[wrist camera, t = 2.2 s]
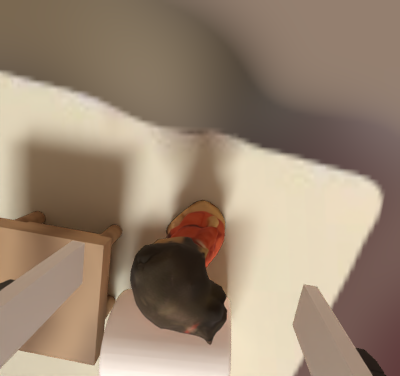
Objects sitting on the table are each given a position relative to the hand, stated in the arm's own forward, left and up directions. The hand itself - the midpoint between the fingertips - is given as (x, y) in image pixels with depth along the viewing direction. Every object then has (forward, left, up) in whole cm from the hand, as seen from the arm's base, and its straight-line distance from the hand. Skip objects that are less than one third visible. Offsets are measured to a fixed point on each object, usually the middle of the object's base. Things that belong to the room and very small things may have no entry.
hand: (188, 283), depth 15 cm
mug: (-1, -12, -10) cm, 15 cm away
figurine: (0, 0, -10) cm, 10 cm away
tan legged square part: (-12, -6, -10) cm, 17 cm away
